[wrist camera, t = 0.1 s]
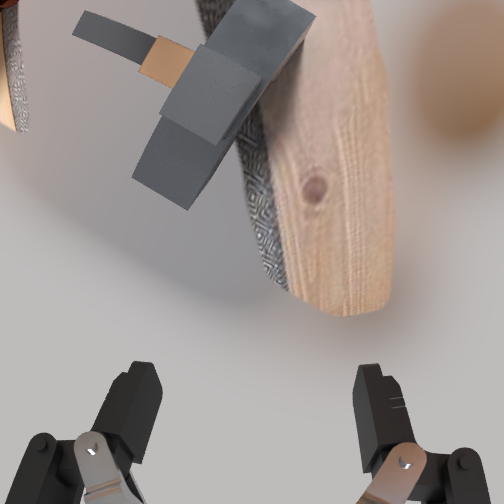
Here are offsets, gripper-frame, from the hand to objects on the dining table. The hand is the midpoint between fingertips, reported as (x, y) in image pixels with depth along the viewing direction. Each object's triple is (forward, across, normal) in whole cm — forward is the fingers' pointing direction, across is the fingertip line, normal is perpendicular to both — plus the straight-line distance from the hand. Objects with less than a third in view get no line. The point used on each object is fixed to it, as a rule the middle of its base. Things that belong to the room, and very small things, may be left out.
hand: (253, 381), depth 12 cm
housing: (+29, +4, -10) cm, 31 cm away
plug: (+29, +14, -18) cm, 37 cm away
